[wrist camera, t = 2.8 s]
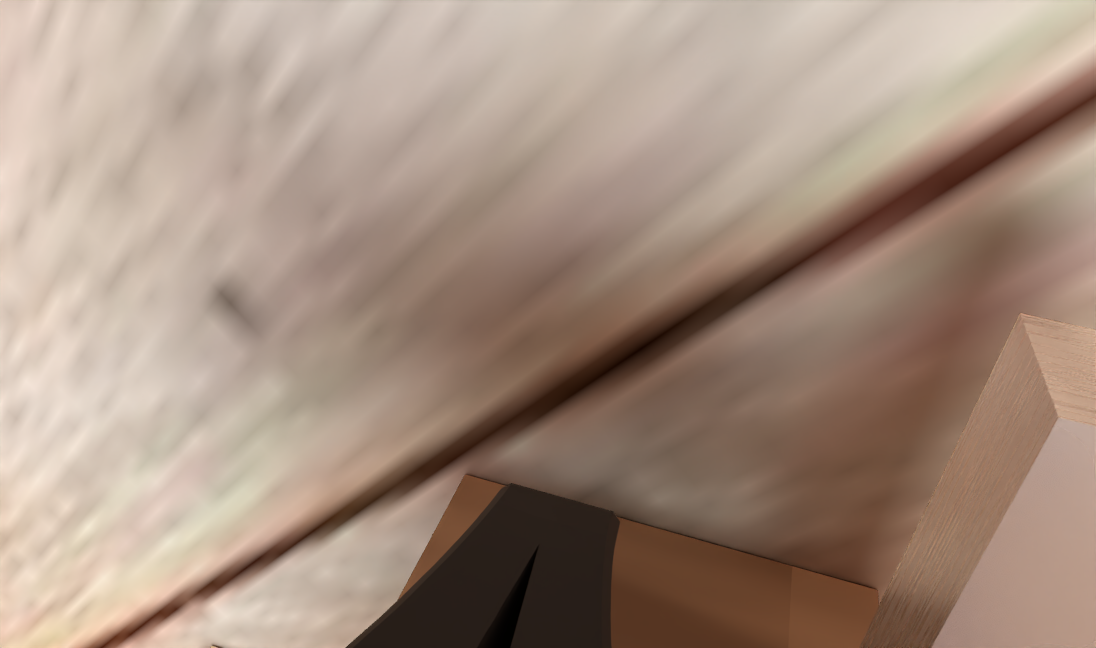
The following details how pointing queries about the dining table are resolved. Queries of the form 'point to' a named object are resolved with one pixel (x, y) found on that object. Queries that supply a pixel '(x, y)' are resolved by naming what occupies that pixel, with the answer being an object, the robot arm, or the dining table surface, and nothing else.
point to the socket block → (695, 589)
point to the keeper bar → (1009, 511)
